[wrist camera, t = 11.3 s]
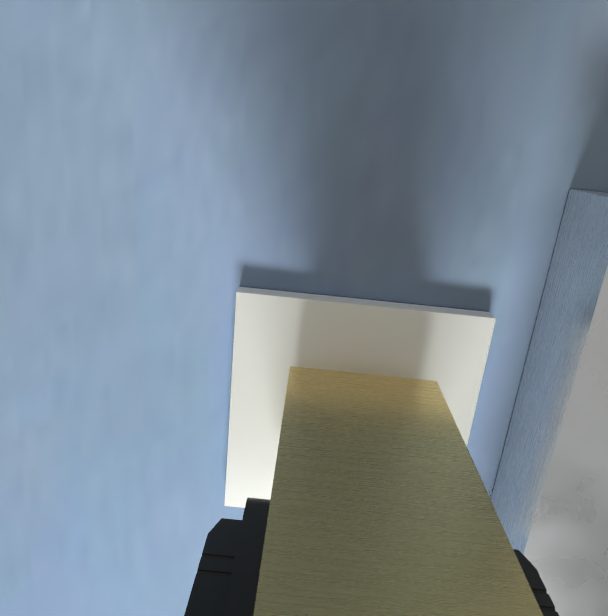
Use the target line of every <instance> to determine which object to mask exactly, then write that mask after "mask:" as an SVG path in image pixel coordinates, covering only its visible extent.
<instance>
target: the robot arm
mask: <svg viewBox="0 0 608 616" xmlns="http://www.w3.org/2000/svg"><path fill="white" fill-rule="evenodd" d="M269 506H270V500H268V499H259V498H249V497H248V498H247V501H246V505H245V510H244V515H243V520H233V519H223V518H222V519H221V520H220V521H219V522H218V523H217V524H216V525H215V527H214V528H213V529H212V530H211V531H210V532H209V533H208V536H207V539H206V542H205V546H204V549H203V553H202V557H201V560H200V563H199V567H198V571H197V574H196V577H195V580H194V584H193V587H192V591H191V594H190V598H189V601H188V605H187V608H186V612H185V615H184V616H253V615H254V608H255V601H256V594H257V587H258V581H259V574H260V567H261V560H262V553H263V547H264V540H265V533H266V526H267V519H268V513H269ZM513 550H514V552H515V555H516V557H517V559H518V561H519V563H520V566H521V568H522V570H523V572H524V574H525V577H526V579H527V581H528V583H529V585H530V588H531V590H532V592H533V594H534V596H535V599H536V601H537V603H538V605H539V607H540V610H541V612H542V614H543V616H559V614H558V612H556V611H555V606H554V604H553V602H552V600H551V598H550V596H549V594H547V589H546V587H545V585H544V583H543V581H542V579H541V577H540V575H539V573H538V571H537V569H536V568H535V567H534V566H533V565H532V564H531V562H530V561H529V560H528V559H527V558H526V557H525V556H524V555H523V554H522V553H521V552H520V551H519V550H516V549H513Z"/></svg>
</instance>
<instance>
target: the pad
mask: <svg viewBox="0 0 608 616" xmlns="http://www.w3.org/2000/svg"><path fill="white" fill-rule="evenodd" d="M495 321H496V318H495V317H494V316H493V315H492V314H491V312H485V311H475V310H465V309H455V308H446V307H436V306H426V305H416V304H406V303H396V302H386V301H377V300H367V299H357V298H347V297H337V296H327V295H317V294H308V293H298V292H288V291H278V290H268V289H258V288H248V287H239V288H238V290H237V292H236V310H235V328H234V346H233V364H232V382H231V400H230V418H229V436H228V454H227V472H226V490H225V506H232V507H242V508H245V505H246V501H247V498H248V497H249V498H259V499H268V500H270V499H271V492H272V486H273V479H274V472H275V465H276V458H277V452H278V445H279V438H280V431H281V424H282V418H283V411H284V404H285V397H286V390H287V384H288V377H289V370H290V366H293V367H303V368H313V369H323V370H333V371H342V372H352V373H362V374H372V375H381V376H391V377H401V378H411V379H421V380H430V381H437V383H438V385H439V387H440V389H441V392H442V394H443V396H444V398H445V400H446V403H447V405H448V407H449V409H450V411H451V414H452V416H453V418H454V420H455V422H456V425H457V427H458V429H459V431H460V433H461V436H462V438H463V440H464V442H465V444H466V447H467V444H468V439H469V435H470V430H471V426H472V422H473V417H474V413H475V408H476V404H477V400H478V395H479V391H480V387H481V382H482V378H483V373H484V369H485V365H486V360H487V356H488V351H489V347H490V343H491V338H492V334H493V329H494V325H495Z"/></svg>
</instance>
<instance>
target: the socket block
mask: <svg viewBox="0 0 608 616" xmlns="http://www.w3.org/2000/svg"><path fill="white" fill-rule="evenodd" d="M491 502H492V504H493V506H494V508H495V510H496V513H497V515H498V517H499V519H500V522H501V524H502V526H503V528H504V530H505V533H506V535H507V537H508V539H509V541H510V544H511V546H512V548H513V549H516V550H519V551H520V552H521V553H522V554H523V555H524V556H525V557H526V558H527V559H528V560H529V561H530V562H531V564H532V565H533V566H534V567H535V568H536V569H537V571H538V573H539V575H540V577H541V579H542V581H543V583H544V585H545V587H546V589H547V594H549V596H550V598H551V600H552V602H553V604H554V606H555V611H556V612H558V614H559V616H608V193H607V192H597V191H587V190H577V189H570V190H569V194H568V198H567V202H566V206H565V209H564V213H563V217H562V221H561V225H560V229H559V233H558V237H557V241H556V245H555V249H554V253H553V257H552V261H551V264H550V268H549V272H548V276H547V280H546V284H545V288H544V292H543V296H542V300H541V304H540V308H539V312H538V315H537V319H536V323H535V327H534V331H533V335H532V339H531V343H530V347H529V351H528V355H527V359H526V363H525V367H524V370H523V374H522V378H521V382H520V386H519V390H518V394H517V398H516V402H515V406H514V410H513V414H512V418H511V421H510V425H509V429H508V433H507V437H506V441H505V445H504V449H503V453H502V457H501V461H500V465H499V469H498V473H497V476H496V480H495V484H494V488H493V492H492V496H491Z"/></svg>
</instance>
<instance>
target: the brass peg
mask: <svg viewBox="0 0 608 616" xmlns="http://www.w3.org/2000/svg"><path fill="white" fill-rule="evenodd" d="M253 616H543V614H542V612H541V610H540V607H539V605H538V603H537V601H536V599H535V596H534V594H533V592H532V590H531V588H530V585H529V583H528V581H527V579H526V577H525V574H524V572H523V570H522V568H521V566H520V563H519V561H518V559H517V557H516V555H515V552H514V550H513V548H512V546H511V544H510V541H509V539H508V537H507V535H506V533H505V530H504V528H503V526H502V524H501V522H500V519H499V517H498V515H497V513H496V510H495V508H494V506H493V504H492V502H491V499H490V497H489V495H488V493H487V491H486V488H485V486H484V484H483V482H482V480H481V477H480V475H479V473H478V471H477V469H476V466H475V464H474V462H473V460H472V458H471V455H470V453H469V451H468V449H467V447H466V444H465V442H464V440H463V438H462V436H461V433H460V431H459V429H458V427H457V425H456V422H455V420H454V418H453V416H452V414H451V411H450V409H449V407H448V405H447V403H446V400H445V398H444V396H443V394H442V392H441V389H440V387H439V385H438V383H437V381H430V380H421V379H411V378H401V377H391V376H381V375H372V374H362V373H352V372H342V371H333V370H323V369H313V368H303V367H293V366H290V370H289V377H288V384H287V390H286V397H285V404H284V411H283V418H282V424H281V431H280V438H279V445H278V452H277V458H276V465H275V472H274V479H273V486H272V492H271V499H270V506H269V513H268V519H267V526H266V533H265V540H264V547H263V553H262V560H261V567H260V574H259V581H258V587H257V594H256V601H255V608H254V615H253Z"/></svg>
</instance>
